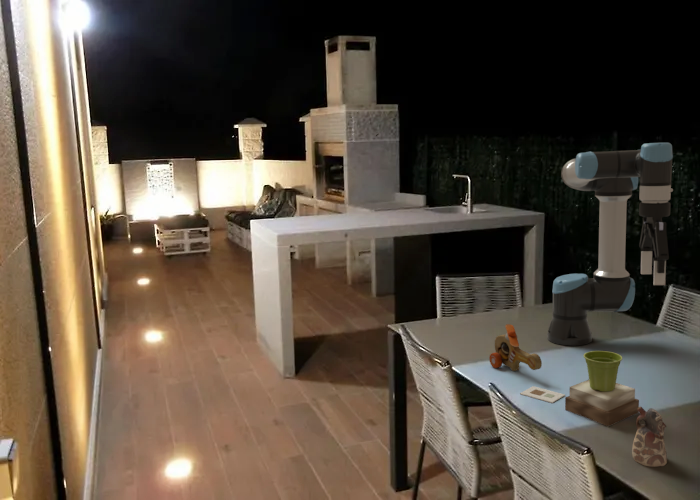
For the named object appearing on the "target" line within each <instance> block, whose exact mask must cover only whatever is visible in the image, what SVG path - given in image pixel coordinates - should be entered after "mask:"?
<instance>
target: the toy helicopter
mask: <svg viewBox="0 0 700 500" xmlns="http://www.w3.org/2000/svg"><path fill="white" fill-rule="evenodd" d="M504 328H505V329H506V333H505V334H501V335H500V334H499V335H497V336H496V337H495V339H494V350H495V352H491V353H490V354H489V359H488V360H489V363H490V365H491V366H492V367H493V368H494V369H499V368H501V367H502V365H504V366H505V367H508V368H510V370H511V371H512V372H516V371H517V372H518V371H519V370H520V363H523V364H525V365H527V366H528V367H529V368H530V370H532V371H536V370H540V369H541V368H542V365H543V363H542V359H541V357H540V356H539V354H537V353H528V352H527V351H526V350H525V351H524V350H523V349H521V348H520V347H519V346H520V344H519V341H518V335H517V333H516V330H515V327H514V325H512V324H511V323H508V324H505V326H504Z"/></svg>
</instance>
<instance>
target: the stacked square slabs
mask: <svg viewBox="0 0 700 500" xmlns="http://www.w3.org/2000/svg"><path fill="white" fill-rule="evenodd" d="M564 397H565V398H564V403H565V405H564V406H565V410H564V411H568V412H570V413H572V414H575V415H577V416H580V417H583V418H585V419H589V420H591V421H593V422H596V423H599V424H600V425H604V426H606V427H610V426H612V425H614V424H617V423H618V422H622V421H624V420H625V419H628V418H630V417H632V416H634V415H636V414H638V413H639V411H638V407H640V399H638V398H636V388H633V387H631V386H627V385H624V384H620V383H618V382H616V385H615V389H613V390H612V391H606V392H603V391H600V390H594V389H592V388H591V387H590V383H589V379H587V380H584V381H581V382H578V383H577V384H574V385H571V386H569V395H568V396H564ZM639 414H640V413H639Z"/></svg>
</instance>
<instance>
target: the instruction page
mask: <svg viewBox="0 0 700 500" xmlns="http://www.w3.org/2000/svg"><path fill="white" fill-rule="evenodd" d="M520 395H522V396H525V397H529V398H533V399H536V400H539V401H543V402H546V403H549V404H550V403H551V404H554V403H555V402H557V401H559V399H561V398H563V397H566V394H564V393H560V392H556V391H553V390H549V389H545V388H542V387H537V386H535V385H533V386H531V387H528V388H527V389H525V390H523V391H522V392H520Z"/></svg>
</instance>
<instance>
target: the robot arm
mask: <svg viewBox="0 0 700 500" xmlns="http://www.w3.org/2000/svg"><path fill="white" fill-rule="evenodd" d="M673 158H674V154H673V145H672V144H671V143H670V142H649V143H643V144H642V145H641V147H640V149H637V150H636V149H634V150H633V149H632V150H614V151H613V150H612V151H586V152H579V153H577V154H576V156H575V158H572V159H570V160H568V161H567V162H566V163H565V164H564V165H563V166H562V168H561V172H560V173H561V177H560V178H561V179H562V181H563V183H564V184H565V185H566V186H568V187H569V188H571V189H574V190H578V191H584V192H593V191H594V197H596V198H597V199H598V201H599V219H598V221H599V225H598V226H599V227H598V268H597V269H596V270H595V271H594V272H593V278H592V277H589V276H588V275H587V274H586V273H569V274H562V275H560V276H557V277H556V278H555V279H554V280H553V283H552V318H551V322H550V324H549V328H548V330H547V340H548V341H549V342H551V343H553V344H557V345H563V346H573V347H575V346H585V345H588V344H589V345H590V343H592V342H593V333H592V331H591V328H590V324H589V321H588V312H614V313H616V312H626V311H628V310H629V309H630V308H632V305H633V303H634V300H635V296H636V295H635V294H636V283H635V280H634V278H632V277H630V273H629V271H627V269H626V243H627V242H626V239H627V237H626V236H627V235H626V234H627V203H628V202H627V201H628V199H630V198H631V197H632V195H633V191H635V190H637V189H638V187H639V195H638V196H639V199H638V200H639V201H641V202H639V206H638V207H639V209H638V212H639V213H638V215H639V216H640V217H642V226H641V231H640V239H639V244H638V246H639V248H640V274H641V275H652V274H653V282H652V283H653V286H666V277H667V276H666V275H667V273H666V270H667V268H666V267H667V260H669V259H670V255H669V246H668V245H669V243H668V235H667V234H668V233H667V222H666V221H663V218H664V217H665V218H666V217H669V216H670V215H671V205H672V204H671V202H669V201H670V200H671V193H672V192H673V191H674V189H673V188H671V187H672V174H673V173H672V171H673V170H672V169H673ZM639 178H640V180H639ZM638 185H639V186H638ZM653 252H654V257H653ZM652 266H653V267H652ZM652 269H653V270H652Z"/></svg>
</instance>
